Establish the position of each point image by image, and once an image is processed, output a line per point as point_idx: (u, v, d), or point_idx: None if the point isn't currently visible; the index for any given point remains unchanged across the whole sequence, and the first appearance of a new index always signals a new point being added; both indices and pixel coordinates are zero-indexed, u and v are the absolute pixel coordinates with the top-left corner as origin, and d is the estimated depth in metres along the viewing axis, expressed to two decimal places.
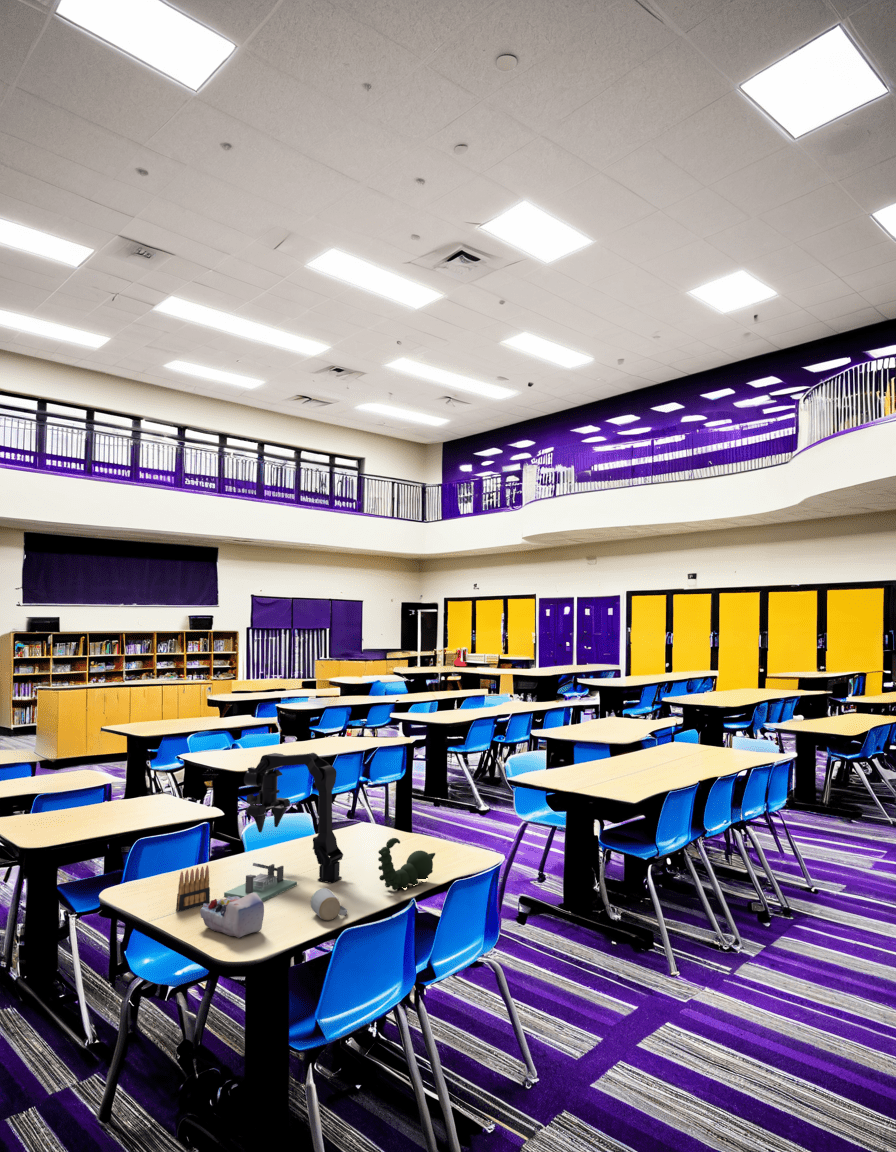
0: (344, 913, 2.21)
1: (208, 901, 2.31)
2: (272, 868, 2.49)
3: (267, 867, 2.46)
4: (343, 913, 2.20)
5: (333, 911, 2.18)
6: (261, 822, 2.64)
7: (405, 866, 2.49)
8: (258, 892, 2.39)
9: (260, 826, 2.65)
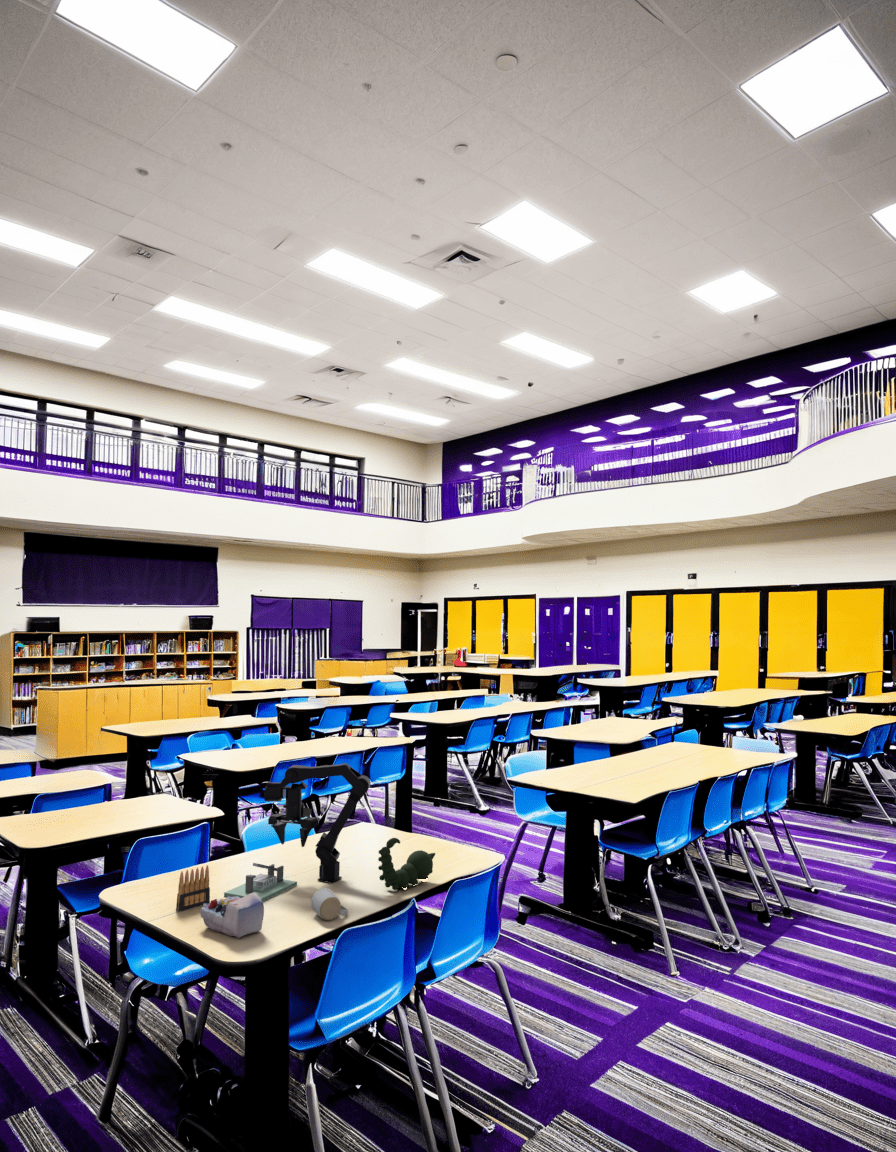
0: (345, 913, 2.21)
1: (208, 901, 2.31)
2: (272, 868, 2.49)
3: (267, 867, 2.46)
4: (343, 913, 2.20)
5: (333, 911, 2.18)
6: None
7: (405, 866, 2.49)
8: (258, 892, 2.39)
9: None
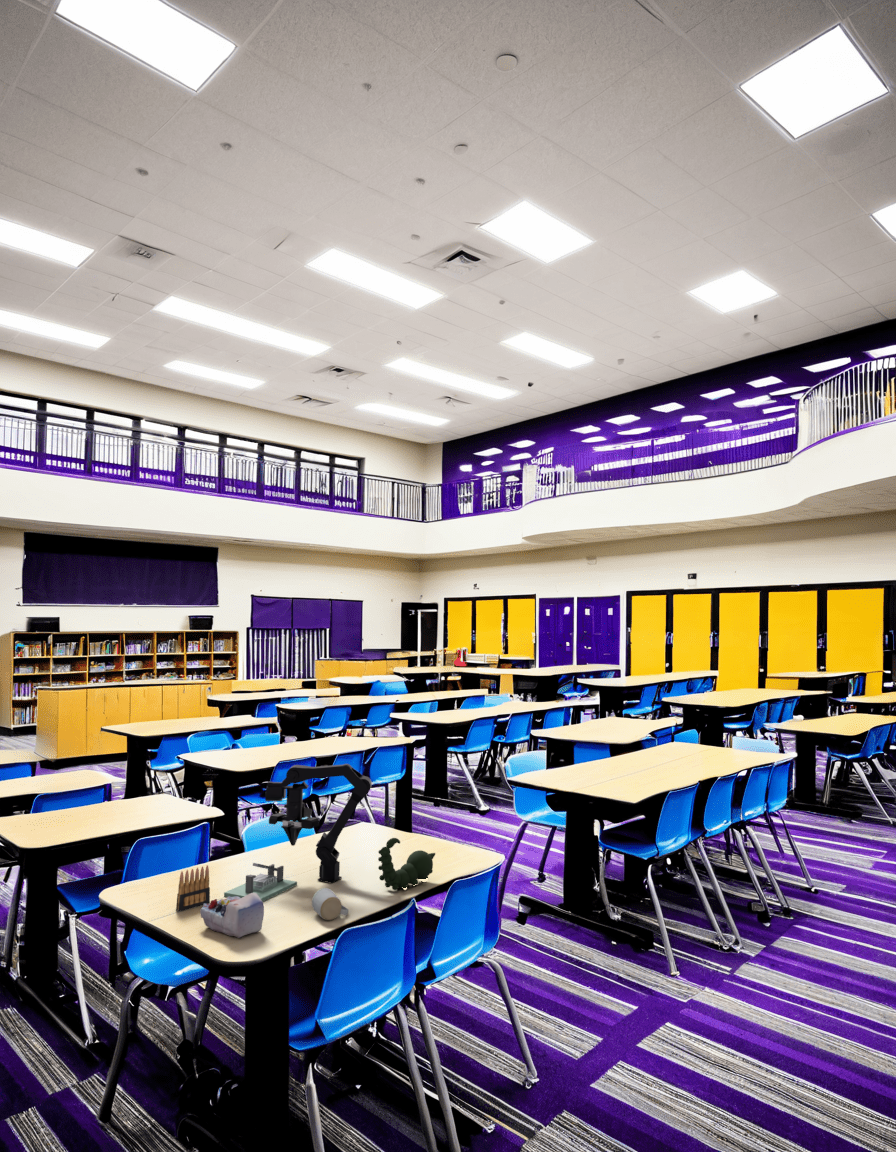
0: (345, 913, 2.21)
1: (208, 901, 2.31)
2: (272, 868, 2.49)
3: (267, 867, 2.46)
4: (344, 913, 2.20)
5: (334, 910, 2.18)
6: None
7: (405, 866, 2.49)
8: (258, 892, 2.39)
9: None
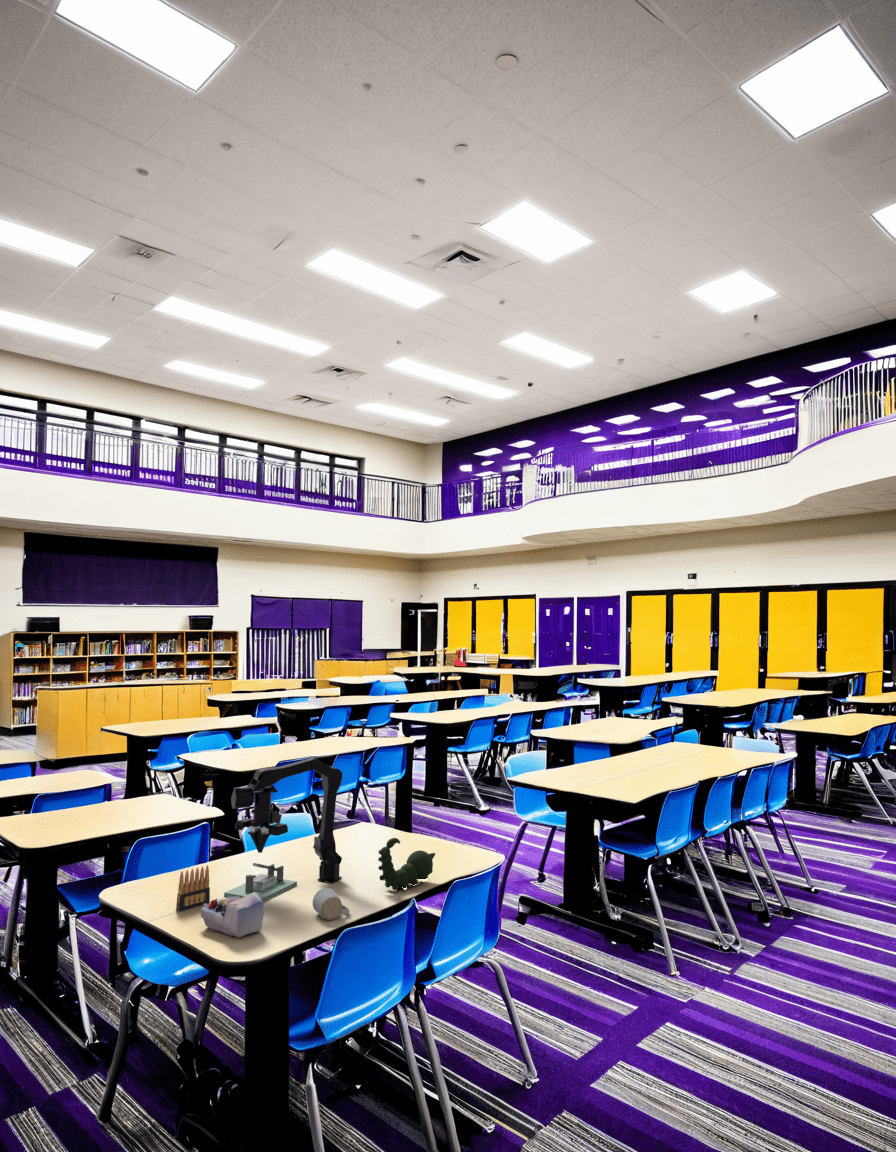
0: (346, 913, 2.21)
1: (208, 901, 2.31)
2: (272, 868, 2.49)
3: (267, 867, 2.46)
4: (345, 913, 2.21)
5: (335, 910, 2.18)
6: None
7: (405, 866, 2.49)
8: (258, 892, 2.39)
9: None
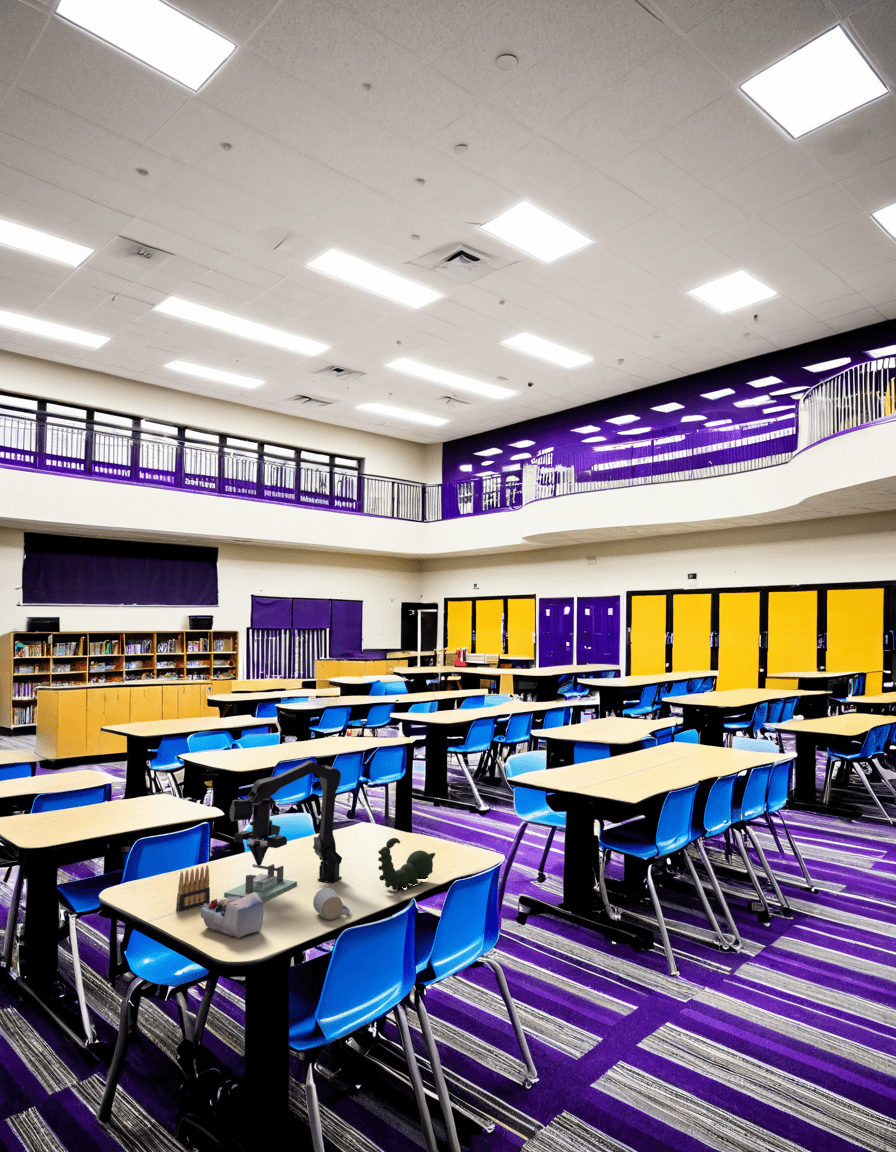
0: (347, 913, 2.21)
1: (208, 901, 2.31)
2: (272, 868, 2.49)
3: (267, 868, 2.46)
4: (345, 913, 2.21)
5: (335, 910, 2.18)
6: None
7: (405, 866, 2.49)
8: (258, 892, 2.39)
9: None
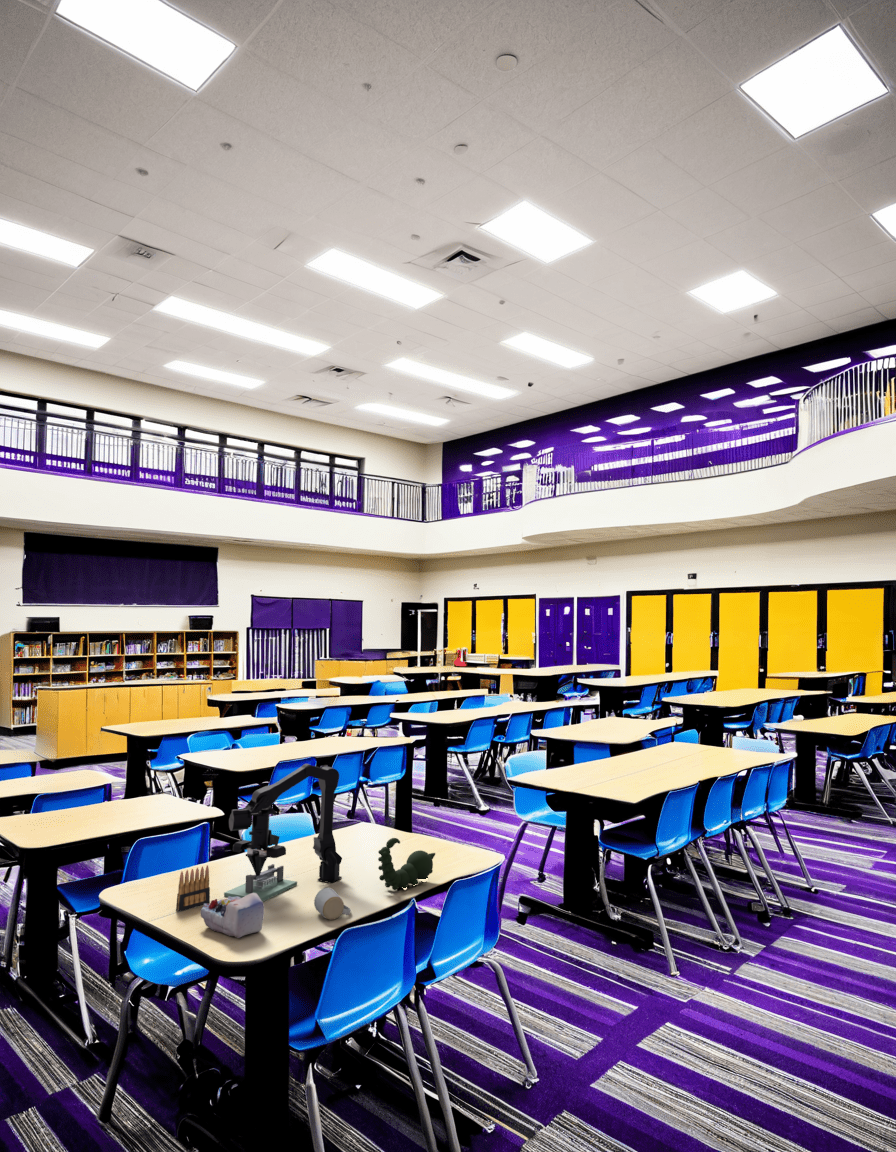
0: (347, 912, 2.21)
1: (208, 901, 2.31)
2: (271, 872, 2.48)
3: (266, 874, 2.46)
4: (346, 913, 2.21)
5: (336, 910, 2.18)
6: None
7: (405, 866, 2.49)
8: (258, 892, 2.39)
9: None
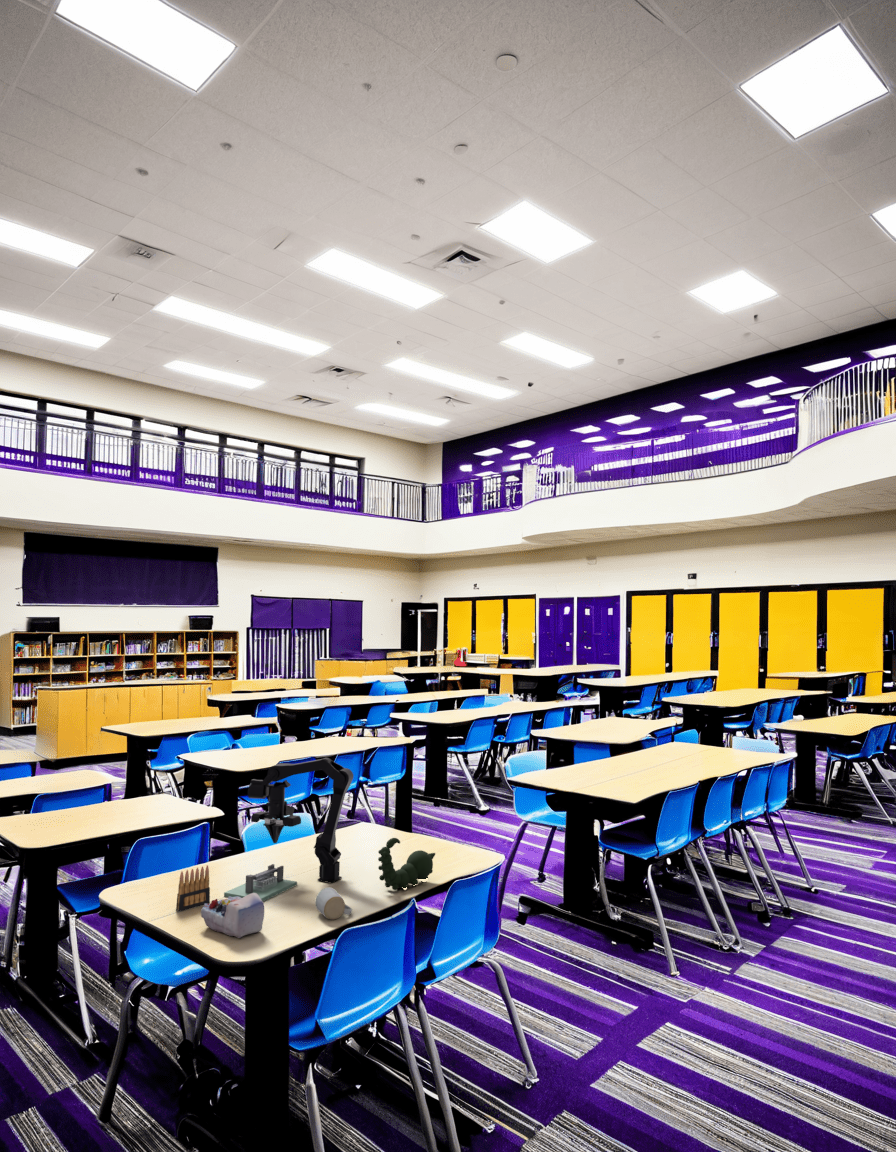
0: (349, 912, 2.21)
1: (208, 901, 2.31)
2: (271, 872, 2.48)
3: (266, 874, 2.46)
4: (347, 913, 2.21)
5: (338, 910, 2.18)
6: None
7: (405, 866, 2.49)
8: (258, 892, 2.39)
9: None
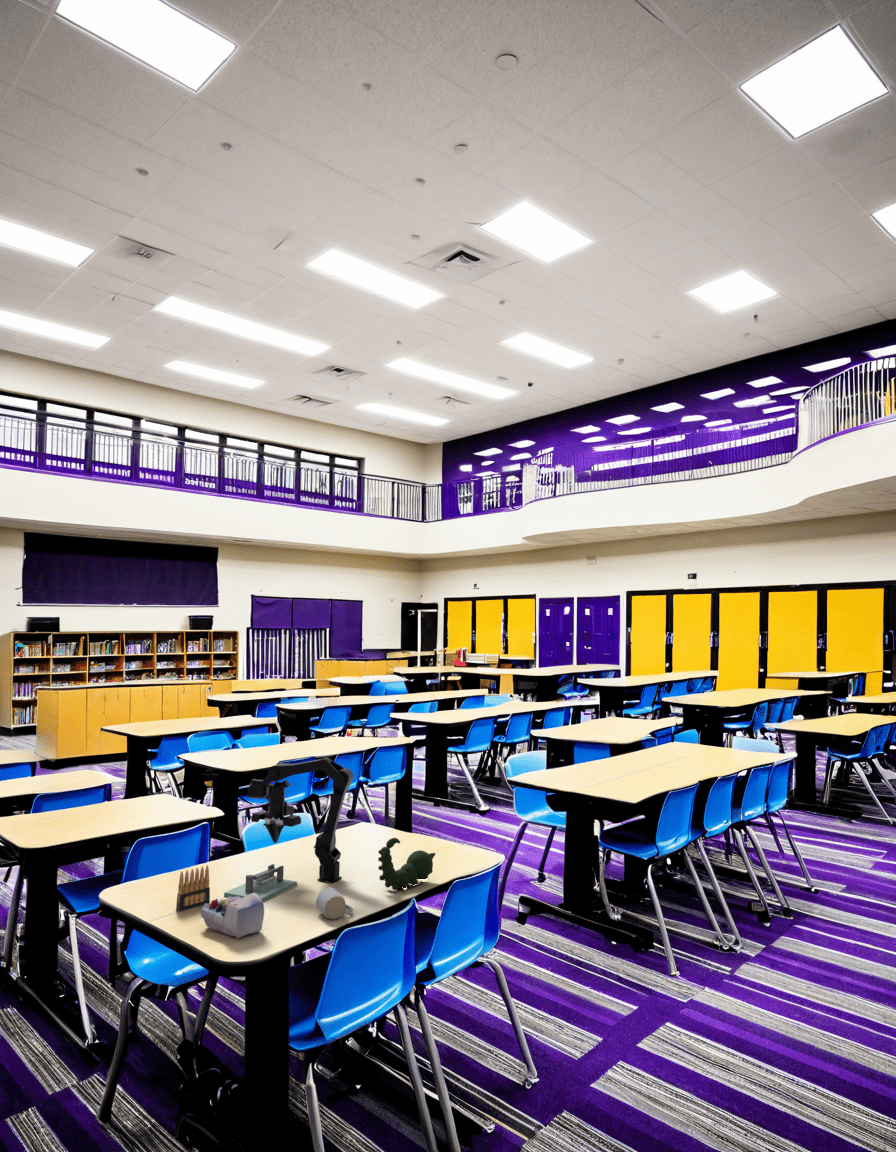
0: (350, 912, 2.22)
1: (208, 901, 2.31)
2: (271, 872, 2.48)
3: (266, 874, 2.46)
4: (348, 912, 2.21)
5: (338, 910, 2.19)
6: None
7: (405, 866, 2.49)
8: (258, 892, 2.39)
9: None
